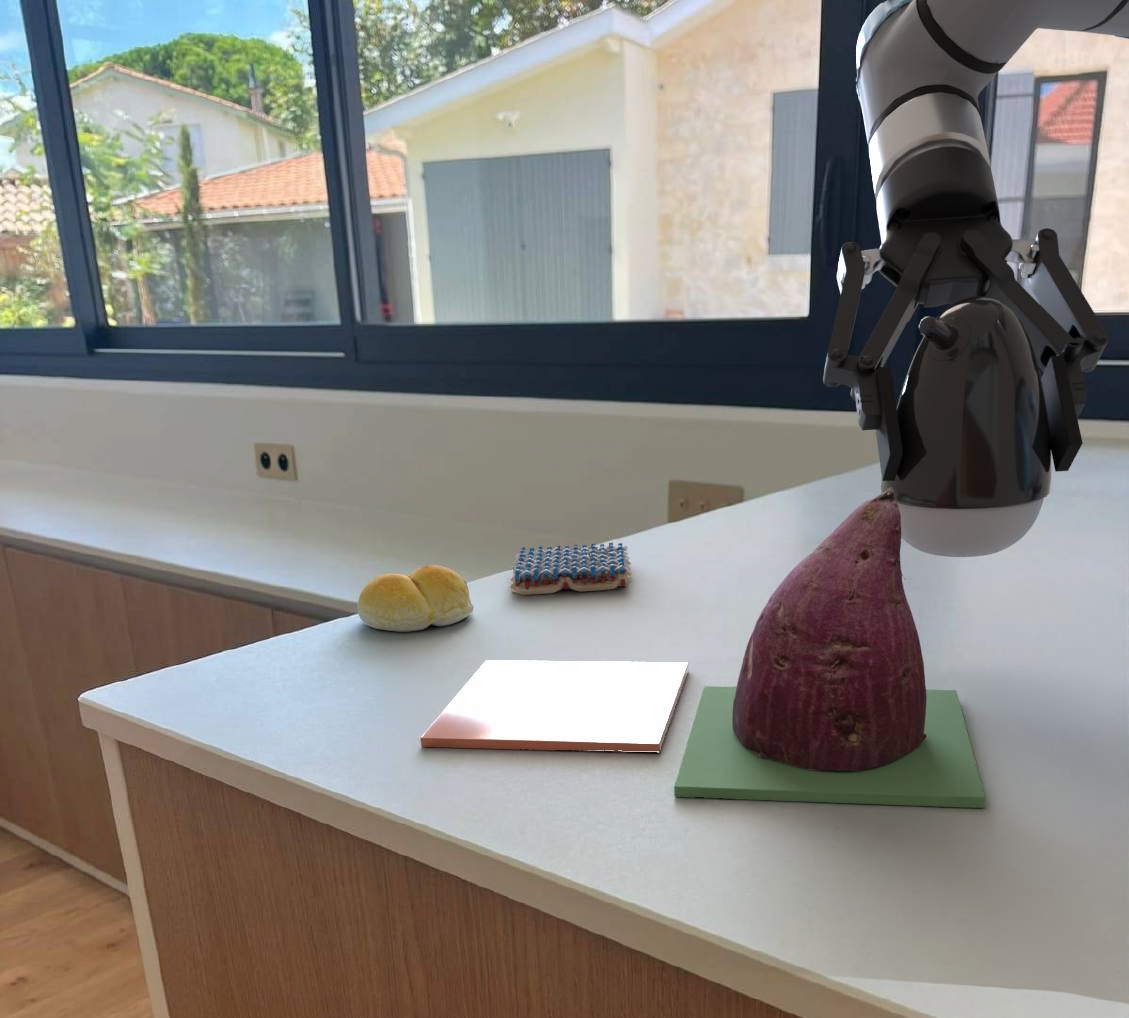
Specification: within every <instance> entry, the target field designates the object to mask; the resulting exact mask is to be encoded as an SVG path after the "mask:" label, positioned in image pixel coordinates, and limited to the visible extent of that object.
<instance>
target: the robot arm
mask: <svg viewBox="0 0 1129 1018" xmlns="http://www.w3.org/2000/svg"><path fill="white" fill-rule="evenodd" d="M1039 29H1043V30H1055V31H1065V32H1067V31H1068V32H1081V33H1089V34H1098V35H1107V36H1114V37H1117V38H1122V39H1128V40H1129V0H885V1H884V2H881V3H879V4H878V5H877V6H876V7H875V8H874V9H873V10H872V12H871V13H870V14H869V15H868V16H867V18H866V19H865V22H864V23H863V25H862V27H861V30H860V32H859V34H858V38H857V41H856V42H857V43H856V51H855V52H856V55H855V56H856V74H857V75H856V78H855V82H856V85H855V87H856V93H857V95H858V101H859V103H860V107H861V112H862V116H863V117H862V118H863V124H864V129H865V135H866V141H867V147H868V157H869V160H870V169H871V176H872V185H873V191H874V199H875V202H876V214H877V220H878V228H879V235H880V242H881V244H880V246H879V248H871V249H864V250H863V249H862V248H861V246H860V245H859V244H858V243H857V242H856V241H855V242H854V241H847V242H845V243H843V244H842V246H841V250H840V255H839V261H838V265H837V272H836V280H837V286H838V289H839V294H840V296H839V300H838V305H837V309H836V314H835V318H834V322H833V327H832V332H831V335H830V340H829V345H828V349H827V354H826V359H825V364H824V371H823V377H822V383H823V385H825V386H826V387H829V388H837V387H839V386H840V385H843V386H847V387H849V388H850V389H851V390H850V397H851V400H853V401H855V407H856V414H857V424H858V426H859V427H860V429H861V430H862V431H875V434H876V443H877V451H878V459H879V466H880V473H881V475H882V481H895V478H896V475H897V472H898V468H899V465H900V462H901V458H902V455H903V450H902V443H901V436H900V429H899V422H898V415H897V408H896V406H897V402H896V395H895V387H894V382H893V381H894V380H893V374H892V373H893V372H892V367H891V365H890V366H889V365H888V366H887V365H886V366H885V364H886V362H887V360H888V358H889V356H890V355H891V353H892V351H893V349H894V347H895V346H896V344H897V341H898V340H899V338H900V336H901V334H902V333H903V330H904V328H905V327H906V325H907V323H909V322H910V321H911V319H912V317H913V315H914V313H915V311H916V309H917V308H918V306H919V304H920V305H922V306H923V308H925V309H926V308H936V307H940V306H944V305H952V304H954V303H955V302H957V301H960V300H962V299H965V298H969V297H974V296H984V297H990V298H994V299H997V300H999V301H1001V302H1003V303H1005V304H1006V305H1008V306H1009V307H1010V308H1011V309H1012V310H1013V311H1014V312H1015V313H1016V314H1017V316H1018V317H1019V319H1020V321H1021V322H1022V324H1023V326H1024V328H1025V330H1026V332H1027V334H1028V336H1029V339H1030V341H1031V344H1032V347H1033V350H1034V353H1035V356H1036V360H1037V363H1038V367H1039V369H1040V370H1041V371H1042V372H1043V374H1042V376H1041V380H1042V385H1043V390H1044V395H1045V401H1046V407H1047V413H1048V421H1049V431H1050V444H1051V458H1052V462H1053V467H1054V472H1068V471H1069V470H1070V468H1071V466H1072V464H1073V463H1074V460H1075V458H1076V457H1077V455H1078V453H1079V451H1080V449H1081V448H1082V445H1083V443H1084V442H1083V439H1082V433H1081V429H1080V424H1079V421H1078V420H1079V419H1078V418H1079V417H1080V415H1081V413H1082V411H1083V409H1084V408H1085V405H1086V403H1087V400H1088V393H1087V389H1086V385H1085V380H1084V379H1085V378H1084V375H1083V373H1090V372H1092V371H1094V370H1095V368H1096V366H1097V365H1098V362H1099V360H1100V359H1101V356H1102V354H1103V352H1104V350H1105V348H1106V346H1107V344H1108V342H1109V338H1110V337H1109V335H1108V333H1107V332H1106V329H1105V328H1104V327H1103V324H1102V323H1101V322H1100V320H1099V318H1098V316H1097V314H1096V313H1095V311H1094V309H1093V308H1092V307H1091V305H1090V303H1089V301H1088V299H1086V297H1085V295H1084V294H1083V292H1082V290H1081V288H1080V287H1079V285H1078V283H1077V281H1076V280H1075V278H1074V277H1073V275H1072V273H1071V271H1070V270H1069V269H1068V267H1067V265H1066V263H1065V261H1064V260H1063V258H1062V257H1061V255H1060V250H1059V248H1060V247H1059V240H1058V239H1059V238H1058V233H1057V232H1056V230H1054V229H1052V228H1048V227H1045V228H1042V229H1039V231H1038V232H1037V234H1036V237H1035V238H1030V239H1029V238H1028V239H1027V238H1025V239H1023V238H1022V239H1021V238H1018V239H1017V238H1016V239H1013V237H1012V235H1011V234H1010V233H1009V232H1008V231H1007V230H1006V228H1004V226H1003V225H1002V221H1001V214H1000V206H999V201H998V195H997V191H996V186H995V182H994V177H993V172H992V168H991V160H990V155H989V150H988V147H987V145H988V144H987V141H986V137H985V132H984V127H983V122H982V118H981V110H980V105H979V100H978V98H979V95H980V93H981V92H982V91H983V90H984V89H985V88H986V86H988V85H989V83H990V82H991V81H992V80H993V78H994V77H995V76H996V75H997V73H998V72H1000V71H1001V70H1002V69H1003V68H1004V67H1005V66H1006V65H1007V64H1008V62H1009V61H1010V60H1011V59H1012V58H1013V57H1014V56H1015V54H1016V53H1018V51H1019V50H1020V48H1022V46H1024V44H1025V43H1026V42H1027V41H1028V39H1029V38H1030V37H1031V36H1032V35H1033V33H1034V32H1035V31H1037V30H1039ZM1009 262H1010V263H1013V264H1015V265H1016V266H1017V267H1018V269H1019V270H1020V277H1021V278H1022V279H1025V280H1026V279H1027V280H1028V283H1029V286H1030V287H1029V288H1030V289H1031V291H1032V293H1033V295H1034V296H1032V295H1031V294H1030V293H1029V292H1028V291H1027V290H1026V289H1025V288H1024V287H1023V286H1022V285H1021V284H1020V283H1019V282H1018V281H1017V279H1016V275H1015V271H1014V269H1013V268H1012V267H1011V265H1010V264H1009ZM875 272H879V274H881V276H883V277H884V278H885V279H886V280H887V281H888V282H890V283H891V284H892V285H893V286H895V287H896V288H895V290H894V292H893V294H892V295H891V297H890V299H889V301H888V303H887V305H886V307H885V308H884V310H883V312H882V313H881V316H880V317H879V320H878V322H877V323H876V325H875V326H874V328H873V330H872V332H871V334H870V336H869V337H868V339H867V341H866V343H865V345H864V346H863V349H862V350H861V352H860V354H859V356H858V355H854V354H850V353H849V350H850V345H851V341H852V336H853V331H854V327H855V323H856V317H857V313H858V308H859V303H860V299H861V294H862V290H864V289H865V288H866V285H868V284H869V283H870V282H871V281H872V278H873V274H875ZM1034 297H1035V298H1034Z"/></svg>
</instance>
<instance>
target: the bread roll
mask: <svg viewBox="0 0 1129 1018" xmlns="http://www.w3.org/2000/svg"><path fill="white" fill-rule="evenodd" d="M356 607H357V614H358V616H359V618H360V620H361V621H362V623H363V624H365V625H366V626H368V627H370V628H373V629H375V630H383V631H389V632H390V631H391V632H399V633H400V632H402V633H407V632H414V631H416V632H417V631H418V632H419V631H423V630H426V629H427V628H428V627H430V626H431V625H432V626H435V627H445V626H449V625H453V624H456V623H459V622H460V621H462V620H464V619H466V618H467V617H469V616H470V615H471V614H472V613H473V612H474V607H475V606H474V604H472V602H471V598H470V589H469V586H468V583H467V581H465V579H463V578H462V577H461V576H460V574H458V573H457V572H456V571H455V570H453V569H451V568H448V567H446V566H442V565H437V564H436V565H435V564H428V565H423V566H421V567H418V568H417V569H416V570H414V571H412V572H411V573H410V574H408V575H405V574H400V573H395V572H394V573H384V574H381V575H379V576H376V577H375V578H373V579H372V580H370V581H369V582H368V583H367V584H366V585H365V586H364V587H363V588H362V590H361V592H360V594H359V597H358V601H357V606H356Z"/></svg>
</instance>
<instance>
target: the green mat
mask: <svg viewBox="0 0 1129 1018" xmlns="http://www.w3.org/2000/svg"><path fill="white" fill-rule="evenodd" d="M736 688H737V686H716V685H715V686H710V685H705V686H703V690H702V692H701V696H700V700H699V704H698V707H697V710H696V713H695V716H694V720H693V723H692V727H691V730H690V733H689V736H688V740H687V743H686V747H685V750H684V753H683V756H682V759H681V763H680V767H679V769H678V774H677V776H676V780H675V782H674V786H673V790H674V791H673V793H674V795H673V796H674V798H691V799H692V798H695V797H704V798H703V799H719V798H722V800H723V799H724V800H747V801H749V800H750V801H752V800H753V801H774V802H775V801H778V802H779V801H780V802H800V803H801V802H802V803H803V802H805V803H829V804H830V803H832V804H833V803H835V804H856V805H857V804H858V805H859V804H860V805H882V806H883V805H886V806H910V807H911V806H914V807H942V808H966V809H967V808H968V809H985V807H986V795H985V794H986V793H985V792H984V787H983V783H982V781H981V776H980V772H979V769H978V766H977V765H978V764H977V761H976V758H975V754H974V751H973V747H972V742H971V740H970V736H969V732H968V728H967V724H966V721H965V718H964V714H963V711H962V706H961V703H960V699H959V695H958V692H957V690H956V689H926V696H927V700H926V716H925V728H924V733H925V734H926V736H927V737H926V738H925V739H924V740H923V741H922V742H921V745H920V746H919V747H918V748H917V749H915V750H914V751H912V752H910V753H908V754H906V755H904V756H902V757H901V758H899V759H897V760H894V761H893V762H890V763H888V764H886V765H883V766H879V767H876V768H872V769H868V770H863V771H850V772H846V771H842V772H836V771H821V770H810V769H806V768H802V767H797V766H793V765H789V764H787V763H782V762H779V761H776V760H772V759H769V758H762V757H759V754H757V753H755V752H753V751H751V750H749V749H748V748H746V747H745V746H744V745H743V744H741V742H740V740H739V739H738V738H737V737H736V735H735V733H734V731H733V725H732V714H733V701H734V697H735V693H736ZM681 796H682V797H681Z"/></svg>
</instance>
